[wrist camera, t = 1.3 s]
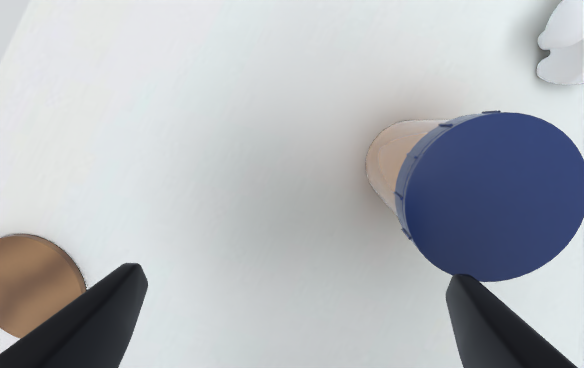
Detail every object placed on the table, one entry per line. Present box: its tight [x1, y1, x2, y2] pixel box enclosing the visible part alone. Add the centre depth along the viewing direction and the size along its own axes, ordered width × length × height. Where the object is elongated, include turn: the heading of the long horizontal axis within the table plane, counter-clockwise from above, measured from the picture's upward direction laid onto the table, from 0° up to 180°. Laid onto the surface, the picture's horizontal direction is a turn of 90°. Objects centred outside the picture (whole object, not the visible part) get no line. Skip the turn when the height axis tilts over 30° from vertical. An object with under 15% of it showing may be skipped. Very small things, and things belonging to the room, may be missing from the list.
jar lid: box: [393, 111, 584, 282], centre depth 13 cm, size 7×7×2 cm
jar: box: [366, 119, 452, 217], centre depth 19 cm, size 7×7×12 cm
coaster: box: [0, 234, 86, 338], centre depth 29 cm, size 11×11×1 cm
